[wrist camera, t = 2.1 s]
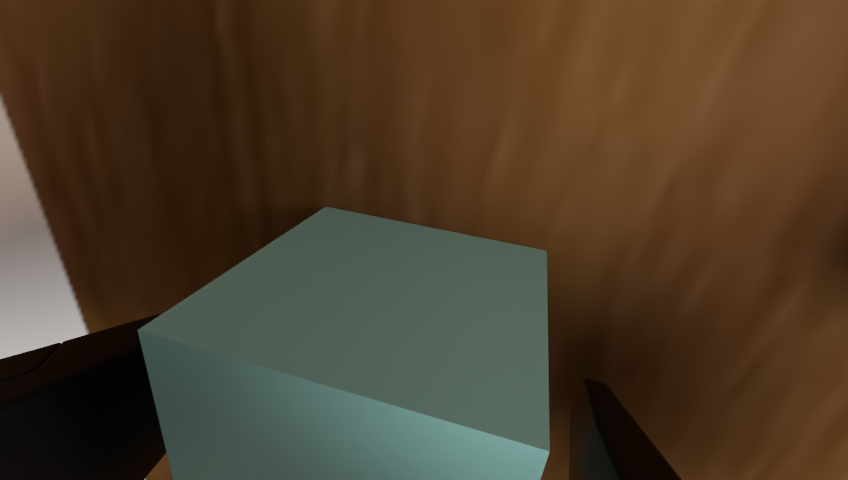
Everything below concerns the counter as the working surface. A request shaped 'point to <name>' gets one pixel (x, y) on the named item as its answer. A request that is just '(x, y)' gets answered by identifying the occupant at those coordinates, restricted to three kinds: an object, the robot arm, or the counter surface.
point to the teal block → (359, 359)
